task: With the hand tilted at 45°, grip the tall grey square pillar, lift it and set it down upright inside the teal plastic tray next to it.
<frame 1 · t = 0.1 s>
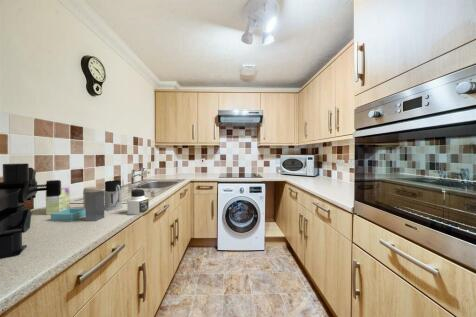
hand: (35, 187, 81), 17 cm above the countertop, tool horizontal, fingers open, 9 cm apart
medicine bottle: (138, 213, 103), on the countertop
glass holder: (115, 209, 109), on the countertop
carving: (91, 209, 108), on the countertop
tall grey square pillar: (95, 219, 92), on the countertop
box: (58, 212, 104), on the countertop
teal tray: (70, 217, 94), on the countertop
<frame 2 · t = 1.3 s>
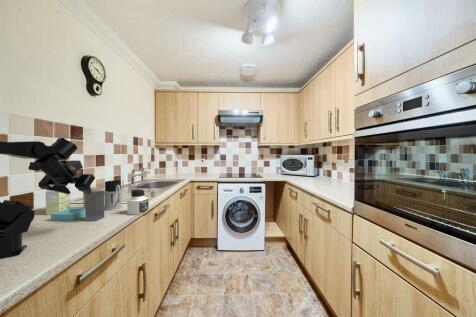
hand: (80, 193, 84), 14 cm above the countertop, tool tilted 45°, fingers open, 9 cm apart
nothing on the countertop moved.
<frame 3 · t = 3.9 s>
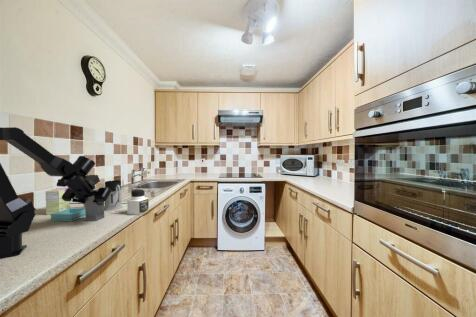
hand: (97, 204, 93), 7 cm above the countertop, tool tilted 45°, fingers closed on tall grey square pillar, 5 cm apart
tall grey square pillar: (95, 219, 92), on the countertop, touching gripper
everything else where it was.
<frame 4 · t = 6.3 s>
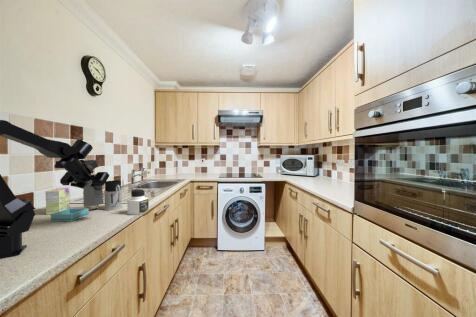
hand: (95, 189, 93), 13 cm above the countertop, tool tilted 45°, fingers closed on tall grey square pillar, 5 cm apart
tall grey square pillar: (93, 204, 92), point 7 cm above the countertop, touching gripper
everything else where it was.
when the fingers open (9 cm above the countertop, at t = 8.8 s): tall grey square pillar drops 1 cm, resting on teal tray.
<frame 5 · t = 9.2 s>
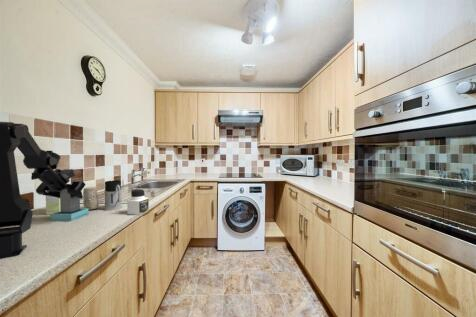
hand: (72, 197, 95), 9 cm above the countertop, tool tilted 45°, fingers open, 9 cm apart
tall grey square pillar: (70, 215, 94), point 1 cm above the countertop, touching teal tray
everything else where it was.
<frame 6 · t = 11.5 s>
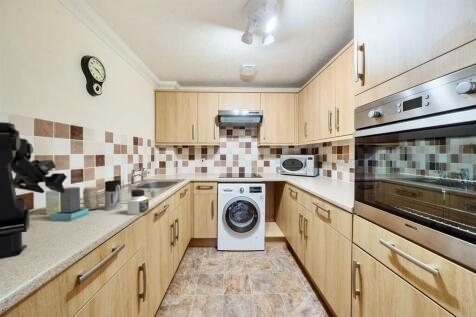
hand: (53, 192, 86), 14 cm above the countertop, tool tilted 45°, fingers open, 9 cm apart
nothing on the countertop moved.
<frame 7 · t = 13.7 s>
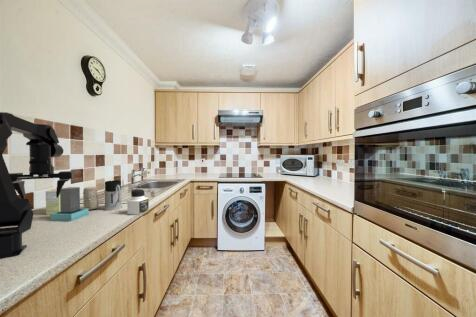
hand: (41, 199, 76), 13 cm above the countertop, tool pointing down, fingers open, 9 cm apart
nothing on the countertop moved.
at the end: tall grey square pillar 0.0 cm off-centre on the teal tray, point 1.0 cm above the teal tray's base; tall grey square pillar tilted 0°; the gripper is holding nothing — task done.
